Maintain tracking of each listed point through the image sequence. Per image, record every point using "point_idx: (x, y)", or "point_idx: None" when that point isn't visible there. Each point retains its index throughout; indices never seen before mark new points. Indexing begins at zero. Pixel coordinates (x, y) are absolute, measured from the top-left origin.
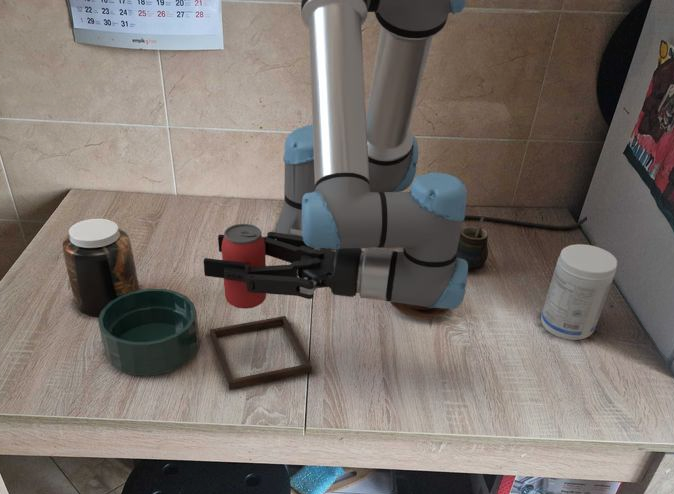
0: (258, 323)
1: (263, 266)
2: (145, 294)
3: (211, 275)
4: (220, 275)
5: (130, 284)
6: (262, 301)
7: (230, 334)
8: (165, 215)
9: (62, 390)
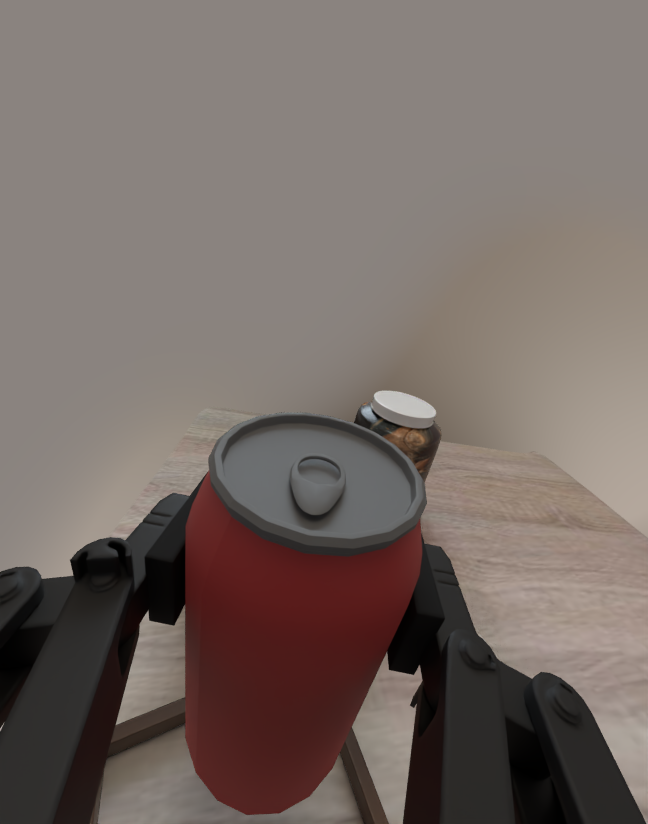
0: (370, 813)
1: (90, 680)
2: None
3: None
4: None
5: None
6: (213, 794)
7: None
8: (594, 534)
9: (198, 474)
